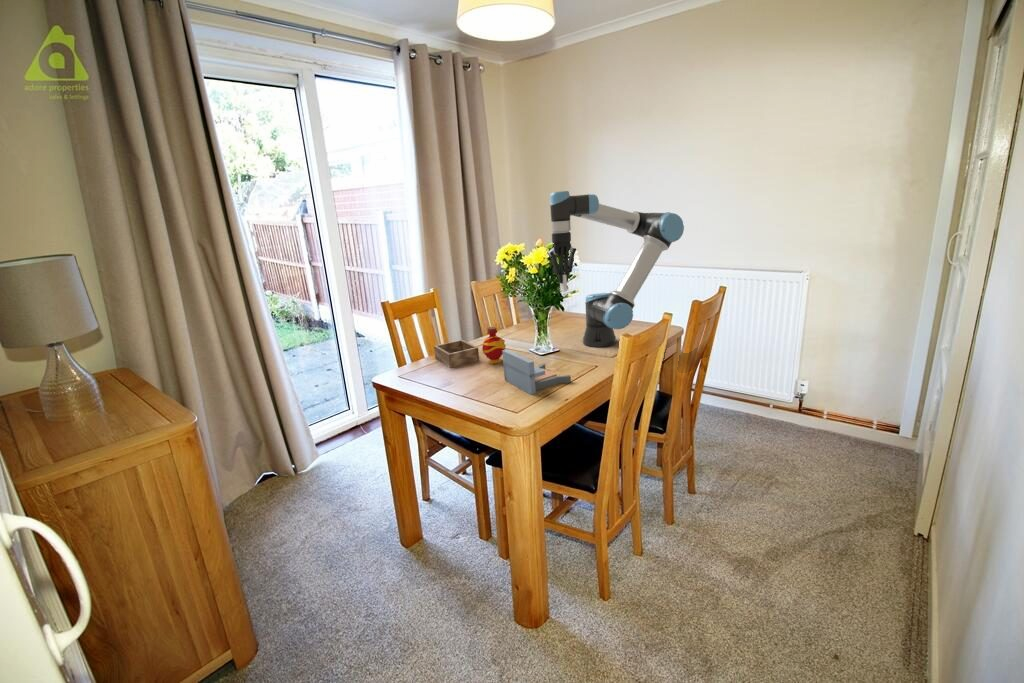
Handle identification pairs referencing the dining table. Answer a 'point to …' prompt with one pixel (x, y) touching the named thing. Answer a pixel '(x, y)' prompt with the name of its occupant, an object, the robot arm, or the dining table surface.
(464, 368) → the dining table surface
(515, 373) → the grey docking fixture
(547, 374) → the terracotta tile
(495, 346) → the potion bottle
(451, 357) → the walnut display tray
